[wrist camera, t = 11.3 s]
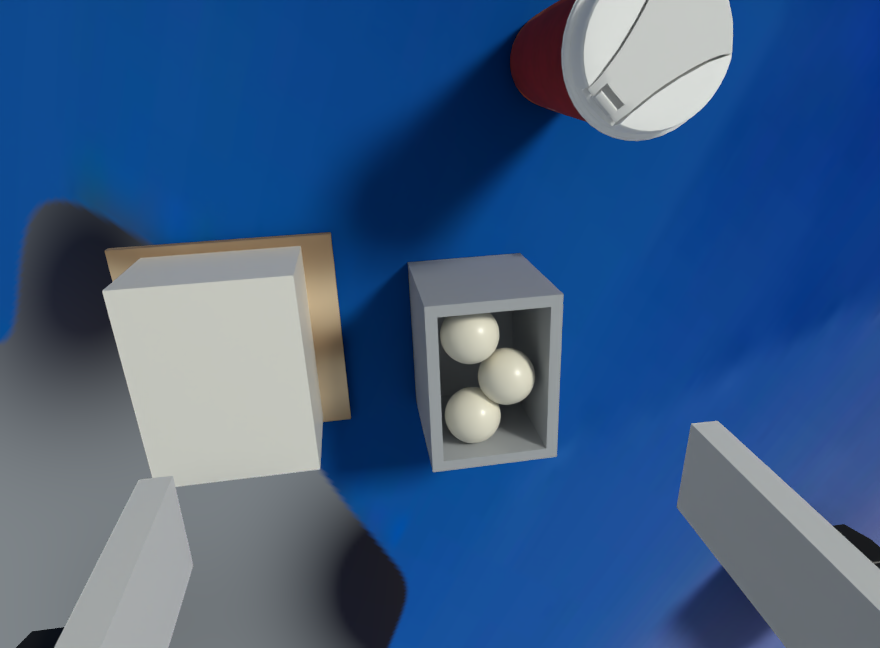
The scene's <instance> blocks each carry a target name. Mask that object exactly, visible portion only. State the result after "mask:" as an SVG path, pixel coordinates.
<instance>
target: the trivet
mask: <svg viewBox="0 0 880 648" xmlns="http://www.w3.org/2000/svg"><path fill="white" fill-rule="evenodd" d="M291 246H301V252H302V259H303V267H304V274H305V282H306V290H307V297H308V305H309V313H310V320H311V328H312V335H313V343H314V351H315V358H316V366H317V374H318V381H319V389H320V396H321V404H322V412H323V422H328V421H336V420H345V419H351V412H350V403H349V394H348V385H347V376H346V367H345V357H344V348H343V339H342V330H341V321H340V312H339V303H338V294H337V285H336V276H335V267H334V258H333V249H332V240H331V232H326V233H313V234H299V235H285V236H272V237H258V238H244V239H231V240H217V241H204V242H190V243H176V244H163V245H149V246H136V247H123V248H108V249H107V250H105V255H106V259H107V262H108V266H109V270H110V274H111V278H112V282H113V281H114V280H115V279H117V278H118V277H119V276H120V275H121V274H122V273H124V272H125V271H126V270H127V269H128V268H129V267H130V266H132V265H133V264H134V263H135V262H136V261H137V260H139V259H140V258H146V257H160V256H173V255H186V254H199V253H212V252H225V251H239V250H252V249H265V248H278V247H291Z"/></svg>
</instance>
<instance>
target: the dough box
mask: <svg viewBox="0 0 880 648" xmlns="http://www.w3.org/2000/svg"><path fill="white" fill-rule="evenodd" d="M408 276H409V292H410V308H411V324H412V340H413V356H414V372H415V388H416V402H417V407H418V411H419V415H420V419H421V424H422V428H423V432H424V436H425V441H426V445H427V449H428V453H429V457H430V462H431V466H432V470H433V472H439V471H447V470H455V469H463V468H470V467H478V466H486V465H494V464H502V463H510V462H518V461H526V460H534V459H542V458H550V457H557V438H558V413H559V389H560V365H561V340H562V316H563V293H562V292H560V291H559V290H558V289H557V288H556V287H555V286H554V285H553V284H552V283H551V282H550V281H549V280H548V279H547V278H546V277H545V276H544V275H542V274H541V273H540V272H539V271H538V270H537V269H536V268H535V267H534V266H533V265H532V264H531V263H530V262H529V261H528V260H527V259H526V258H524V257H523V256H522V255H521V254H520V253H517V254H505V255H492V256H480V257H468V258H455V259H443V260H431V261H418V262H408Z"/></svg>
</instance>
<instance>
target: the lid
mask: <svg viewBox="0 0 880 648" xmlns="http://www.w3.org/2000/svg"><path fill="white" fill-rule="evenodd" d="M102 293H103V296H104V300H105V304H106V307H107V311H108V315H109V319H110V322H111V326H112V330H113V334H114V337H115V341H116V344H117V348H118V352H119V356H120V360H121V363H122V367H123V371H124V374H125V378H126V382H127V386H128V389H129V393H130V397H131V401H132V404H133V408H134V412H135V415H136V419H137V423H138V426H139V430H140V434H141V438H142V441H143V445H144V449H145V453H146V456H147V460H148V463H149V468H150V471H151V475H152V478H157V477H167V476H173V479H174V483H175V487H180V486H188V485H196V484H205V483H213V482H221V481H229V480H236V479H245V478H252V477H262V476H270V475H277V474H286V473H294V472H302V471H310V470H319V469H320V464H321V446H322V427H323V412H322V404H321V396H320V389H319V381H318V374H317V366H316V358H315V351H314V343H313V335H312V328H311V320H310V313H309V305H308V297H307V290H306V282H305V274H304V267H303V259H302V252H301V246H291V247H278V248H265V249H252V250H239V251H225V252H212V253H199V254H186V255H173V256H160V257H146V258H140V259H139V260H137V261H136V262H135V263H134V264H133V265H132V266H130V267H129V268H128V269H127V270H126V271H125V272H124V273H122V274H121V275H120V276H119V277H118V278H117V279H115V280H114V281H113V282H112V283H111V284H110V285H108V286H107V287H106V288H105V289H104V290H103V291H102Z"/></svg>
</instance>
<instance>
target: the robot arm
mask: <svg viewBox="0 0 880 648" xmlns="http://www.w3.org/2000/svg"><path fill="white" fill-rule="evenodd" d="M677 508H678V509H679V511H680V512H681V513H682V515H683V516H684V517H685V518H686V520H687V521H688V522H689V524H690V525H691V526H692V527H693V529H694V530H695V531H696V532H697V534H698V535H699V536H700V538H701V539H702V540H703V541H704V543H705V544H706V545H707V547H708V548H709V549H710V550H711V552H712V553H713V554H714V556H715V557H716V558H717V559H718V561H719V562H720V563H721V565H722V566H723V567H724V568H725V570H726V571H727V572H728V574H729V575H730V576H731V577H732V579H733V580H734V581H735V583H736V584H737V585H738V586H739V588H740V589H741V590H742V592H743V593H744V594H745V595H746V597H747V598H748V599H749V601H750V602H751V603H752V604H753V606H754V607H755V608H756V610H757V611H758V612H759V613H760V615H761V616H762V617H763V619H764V620H765V621H766V622H767V624H768V625H769V626H770V628H771V629H772V630H773V631H774V633H775V634H776V635H777V637H778V638H779V639H780V640H781V642H782V643H783V644H784V646H785V647H786V648H880V547H879V546H878V545H877V544H875V543H874V542H873V541H872V540H871V539H869V538H867V537H866V536H864V535H862V534H860V533H859V532H857V531H855V530H853V529H851V528H850V527H848V526H846V525H844V524H842V525H835V526H832V525H831V524H830V523H829V522H828V521H827V520H825V519H824V518H823V517H822V516H821V515H820V514H819V513H818V512H817V511H816V510H815V509H813V508H812V507H811V506H810V505H809V504H808V503H807V502H806V501H805V500H804V499H803V498H801V497H800V496H799V495H798V494H797V493H796V492H795V491H794V490H793V489H792V488H791V487H789V486H788V485H787V484H786V483H785V482H784V481H783V480H782V479H781V478H780V477H779V476H777V475H776V474H775V473H774V472H773V471H772V470H771V469H770V468H769V467H768V466H767V465H765V464H764V463H763V462H762V461H761V460H760V459H759V458H758V457H757V456H756V455H755V454H753V453H752V452H751V451H750V450H749V449H748V448H747V447H746V446H745V445H744V444H742V443H741V442H740V441H739V440H738V439H737V438H736V437H735V436H734V435H733V434H732V433H730V432H729V431H728V430H727V429H726V428H725V427H724V426H723V425H722V424H721V423H720V422H718V421H713V422H703V423H693V424H691V428H690V433H689V439H688V445H687V451H686V456H685V462H684V468H683V474H682V479H681V485H680V491H679V497H678V502H677ZM192 568H193V562H192V558H191V553H190V549H189V545H188V540H187V536H186V531H185V527H184V523H183V518H182V515H181V509H180V506H179V501H178V496H177V492H176V487H175V483H174V479H173V476H167V477H157V478H147V479H139V480H138V482H137V484H136V486H135V488H134V490H133V492H132V494H131V496H130V498H129V500H128V501H127V504H126V505H125V508H124V510H123V511H122V513H121V515H120V518H119V519H118V521H117V523H116V526H115V527H114V529H113V531H112V533H111V536H110V537H109V539H108V541H107V543H106V545H105V547H104V549H103V552H102V553H101V555H100V557H99V559H98V561H97V563H96V565H95V567H94V569H93V571H92V573H91V575H90V577H89V579H88V581H87V584H86V585H85V587H84V590H83V591H82V593H81V595H80V597H79V599H78V601H77V603H76V605H75V607H74V609H73V611H72V613H71V615H70V617H69V619H68V621H67V623H66V625H65V627H63V628H55V629H47V630H40V631H32V632H31V633H30V634H29V635H28V636H27V637H26V638H25V639H24V640H23V641H22V642H21V643H20V644H19V645H18V646H17V647H16V648H168V647H169V644H170V640H171V637H172V634H173V631H174V627H175V624H176V621H177V617H178V614H179V611H180V608H181V604H182V601H183V597H184V594H185V591H186V588H187V584H188V581H189V578H190V574H191V571H192Z"/></svg>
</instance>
